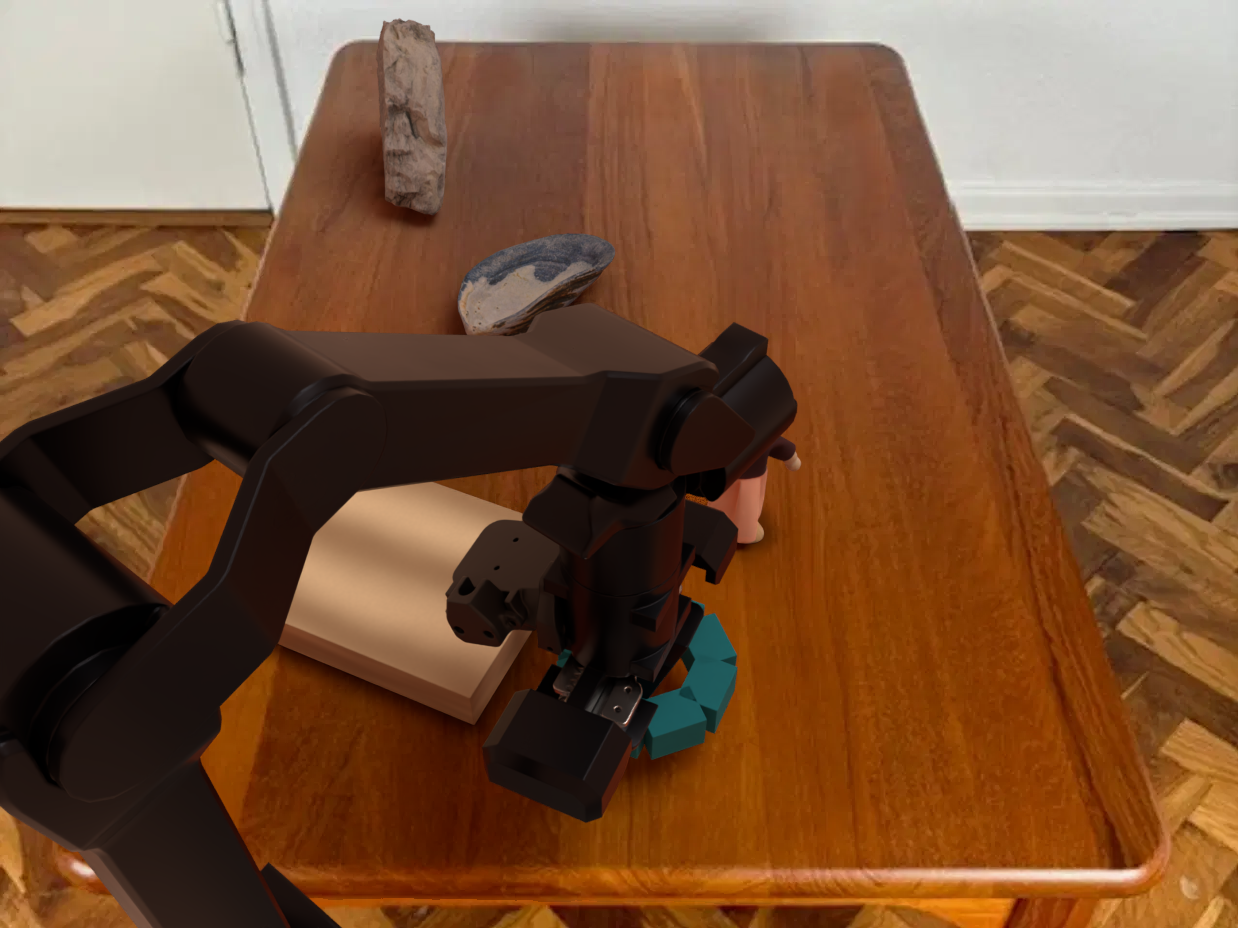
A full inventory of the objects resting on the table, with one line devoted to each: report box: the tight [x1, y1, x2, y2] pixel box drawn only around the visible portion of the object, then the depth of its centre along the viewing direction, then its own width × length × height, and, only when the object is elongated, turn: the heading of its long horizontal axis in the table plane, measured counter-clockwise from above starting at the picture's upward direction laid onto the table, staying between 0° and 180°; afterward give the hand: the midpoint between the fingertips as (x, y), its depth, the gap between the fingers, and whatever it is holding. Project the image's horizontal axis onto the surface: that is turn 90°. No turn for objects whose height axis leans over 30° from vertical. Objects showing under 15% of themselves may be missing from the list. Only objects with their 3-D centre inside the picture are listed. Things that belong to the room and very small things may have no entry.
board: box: [277, 481, 533, 726], centre depth 77 cm, size 14×18×3 cm
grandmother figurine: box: [706, 435, 802, 544], centre depth 78 cm, size 8×4×13 cm, turn 111°
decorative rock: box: [375, 17, 448, 216], centre depth 107 cm, size 16×7×15 cm, turn 8°
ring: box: [556, 599, 738, 761], centre depth 69 cm, size 10×10×2 cm
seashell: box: [456, 232, 616, 336], centre depth 96 cm, size 15×12×5 cm
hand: (619, 726), depth 67 cm, fingers closed on ring, 2 cm apart
